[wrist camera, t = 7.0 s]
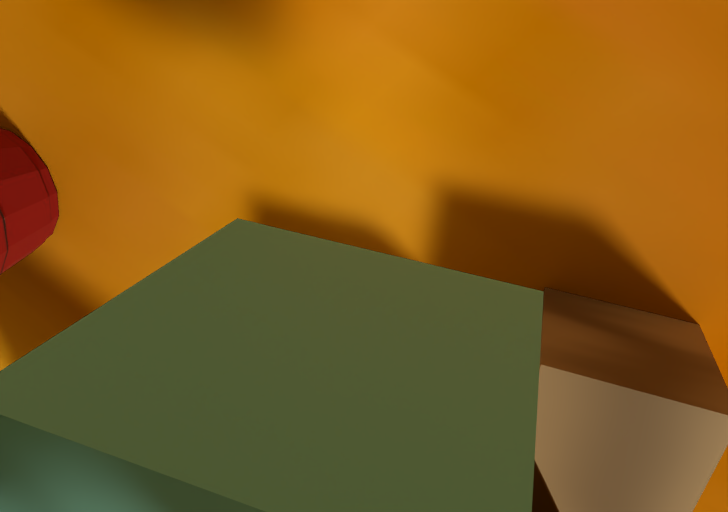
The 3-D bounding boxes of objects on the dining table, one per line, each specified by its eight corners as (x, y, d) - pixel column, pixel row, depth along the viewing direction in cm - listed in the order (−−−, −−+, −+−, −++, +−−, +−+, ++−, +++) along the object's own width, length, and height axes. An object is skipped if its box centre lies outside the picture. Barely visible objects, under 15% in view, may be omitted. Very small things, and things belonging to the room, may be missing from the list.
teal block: (233, 444, 12) (33, 709, 7) (237, 218, 9) (-42, 398, 5) (475, 527, 10) (414, 903, 6) (543, 291, 8) (526, 605, 4)
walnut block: (511, 398, 22) (500, 494, 18) (545, 286, 20) (541, 364, 15) (648, 437, 21) (672, 551, 16) (698, 323, 19) (741, 418, 14)
